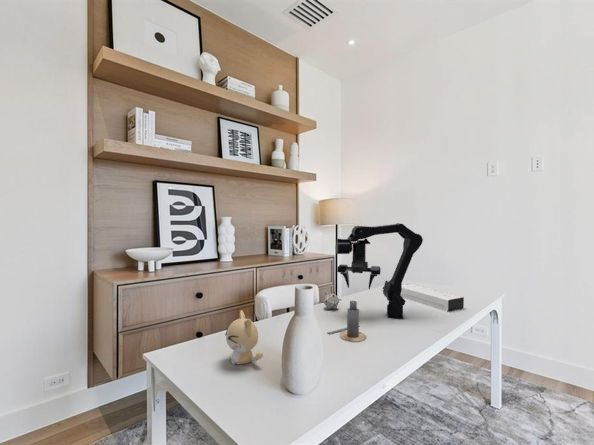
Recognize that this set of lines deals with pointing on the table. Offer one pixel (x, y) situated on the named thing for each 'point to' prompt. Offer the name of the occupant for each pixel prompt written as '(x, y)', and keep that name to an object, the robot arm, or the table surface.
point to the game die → (331, 301)
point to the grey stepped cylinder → (353, 320)
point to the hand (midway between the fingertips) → (358, 288)
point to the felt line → (337, 331)
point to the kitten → (242, 340)
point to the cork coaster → (344, 336)
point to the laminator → (432, 297)
